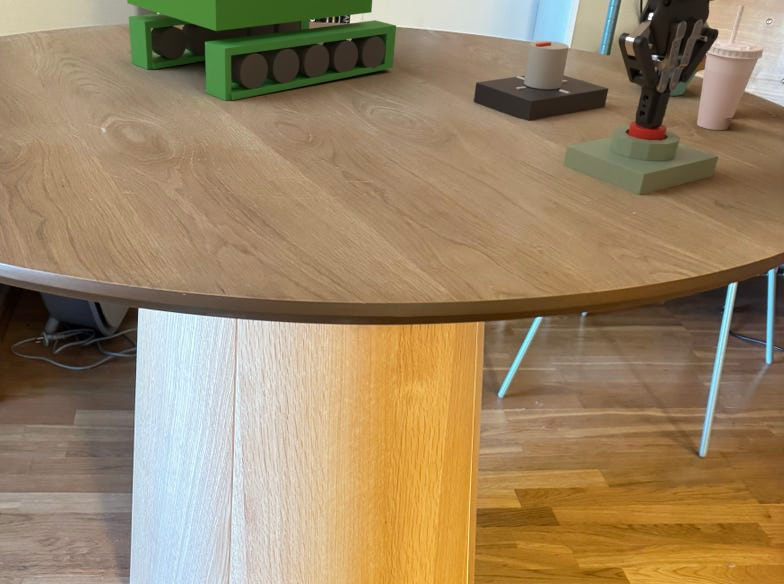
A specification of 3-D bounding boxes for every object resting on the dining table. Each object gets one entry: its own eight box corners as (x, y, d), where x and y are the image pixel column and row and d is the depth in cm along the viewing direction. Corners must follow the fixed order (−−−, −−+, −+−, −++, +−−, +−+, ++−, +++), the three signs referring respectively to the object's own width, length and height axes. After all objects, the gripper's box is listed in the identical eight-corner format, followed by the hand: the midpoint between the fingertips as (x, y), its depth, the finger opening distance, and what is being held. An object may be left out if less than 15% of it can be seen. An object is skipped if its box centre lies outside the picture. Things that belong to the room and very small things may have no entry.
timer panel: (548, 89, 122) (551, 70, 121) (604, 107, 115) (609, 87, 114) (473, 101, 115) (476, 81, 114) (528, 121, 108) (532, 99, 107)
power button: (641, 135, 94) (645, 118, 93) (669, 144, 91) (674, 127, 90) (619, 139, 92) (623, 123, 91) (647, 149, 90) (651, 132, 89)
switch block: (636, 149, 100) (644, 114, 98) (712, 176, 93) (723, 139, 91) (563, 165, 94) (570, 128, 92) (638, 195, 87) (648, 156, 85)
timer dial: (540, 78, 117) (547, 36, 114) (569, 86, 113) (577, 44, 111) (515, 83, 114) (522, 40, 111) (544, 91, 111) (552, 47, 108)
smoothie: (704, 115, 113) (736, -1, 106) (750, 128, 109) (787, 8, 101) (675, 122, 110) (706, 3, 102) (721, 136, 106) (757, 12, 98)
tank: (420, 67, 130) (432, -53, 122) (227, 101, 111) (225, -40, 103) (315, 37, 146) (319, -71, 138) (130, 62, 127) (122, -62, 118)
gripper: (683, -52, 76) (635, 145, 85) (771, -56, 82) (718, 127, 91) (614, -62, 81) (576, 124, 90) (702, -65, 87) (658, 109, 97)
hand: (647, 126), depth 91 cm, fingers closed
